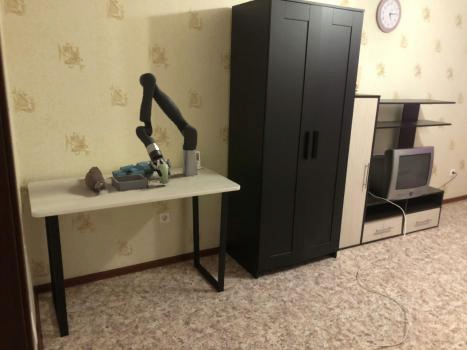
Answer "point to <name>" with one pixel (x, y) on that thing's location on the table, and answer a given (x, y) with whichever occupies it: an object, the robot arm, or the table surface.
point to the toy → (135, 170)
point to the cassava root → (95, 179)
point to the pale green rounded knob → (163, 173)
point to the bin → (129, 182)
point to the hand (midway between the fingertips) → (165, 175)
